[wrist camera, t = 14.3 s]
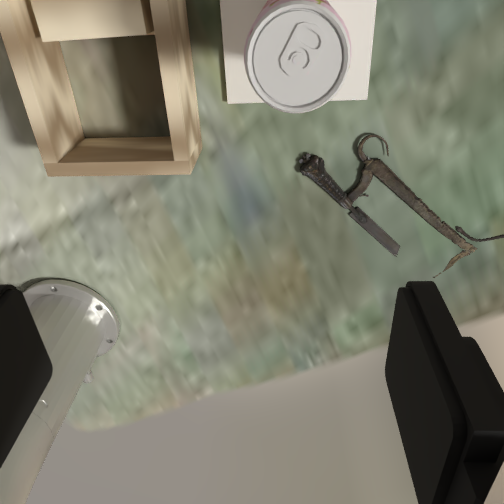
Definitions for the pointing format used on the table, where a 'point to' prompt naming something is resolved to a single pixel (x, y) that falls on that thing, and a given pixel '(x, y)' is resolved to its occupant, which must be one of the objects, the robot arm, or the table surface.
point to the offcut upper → (92, 18)
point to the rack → (65, 111)
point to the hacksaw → (375, 166)
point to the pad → (245, 13)
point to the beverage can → (297, 54)
